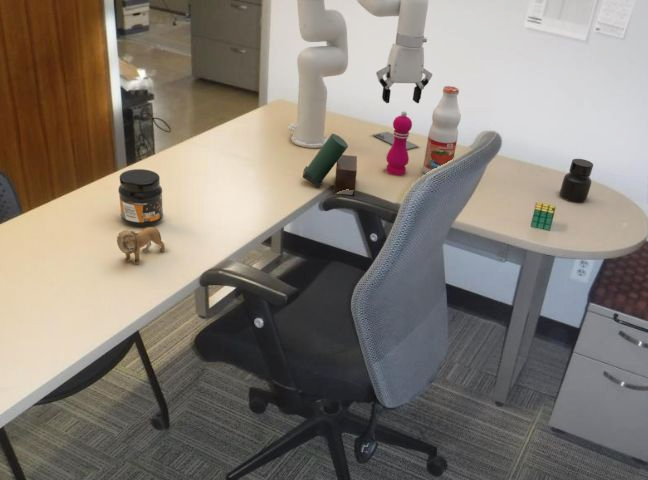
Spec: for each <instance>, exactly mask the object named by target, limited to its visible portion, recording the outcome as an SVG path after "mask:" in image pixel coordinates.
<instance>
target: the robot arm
mask: <svg viewBox="0 0 648 480" xmlns="http://www.w3.org/2000/svg"><path fill="white" fill-rule="evenodd" d="M356 2H357V3H358V4H359V5H360V6H361V7H362V8H363V9H364V10H365V11H366V12H368V13H369V14H370V15H372V16H374V17H378V18H385V17H386V18H387V17H398V21H397V28H396V36H395V43H392V44H391V48H390V50H389V53H388V58H387V64H386V66H385V67H383V68H381V69H379V70H377V71H376V73H375V75H376V77H377V81H378V82H379V84H380V85H381V86H382V95H381V98H382V101H383V102H384V103H385V104H389V103H390V98H391V89H390V88H391V87H392V86H393V85H394V84H415V86H414V88H413V95H412V101H413V102H415V103H416V104H420V100H421V98H422V91H423V90H424V88H425V87H426V86H427V85H428V84H429V81H430V80H431V79H432V77H433V73H432V72H430V71H429V70H427V69H426V68H424V66H425V50H424V46H423V45H424V43H427V41H428V38H427V37H425V29H426V28H425V27H426V21H427V14H428V8H429V7H428V6H429V0H356ZM296 3H297V14H298V27H299V33H300V36H301V38H302V40H303V41H305V42H307V43H321V42H323V43H324V42H325V43H326V45H319V46H318V45H317V46H316V45H315V46H309V47H306V48H305V47H304V49H302V50H301V51H300V52H299V54H298V55H297V63H296V64H297V72H298V94H297V95H298V97H297V114H296V115H297V116H296V123H293V122H291V123H289V126H288V128H287V130H288V131H290V132H293V135H291V138H290V139H291V142H292V143H293V144H294V145H296V146H299V147H301V148H308V149H321V148H322V147H323V145H324V144H325V143H326V141H327V140H328V138H327V137H326V136H325V129H326V128H325V126H326V116H327V115H326V113H327V103H328V102H327V101H328V88H327V85H326V84H325V82H324V78H328V77H336V76H340V75H343V74H344V73H345V72H346V71H347V69H348V66H349V43H348V29H347V23H346V20H345V17H344V15H343V14H342V13H341V11H338V10H337V9H326V7H325V6H326V5H325V0H297V2H296ZM423 75H424V78H423ZM384 76H385V79H384Z"/></svg>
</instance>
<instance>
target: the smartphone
mask: <svg viewBox="0 0 648 480" xmlns="http://www.w3.org/2000/svg"><path fill="white" fill-rule="evenodd" d="M372 136H373V137H375V138H377V139H379V140H381V141H383V142H385V143H387V144H389V145H392V146H393V143H394V135H393V133H391V132H389V131H385V132H381V133H375V134H373V135H372ZM416 148H419V145H417V144H414V143H412V142H410V141H408V140H406V149H407V150H411V149H416Z"/></svg>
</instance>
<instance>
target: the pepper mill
mask: <svg viewBox="0 0 648 480" xmlns="http://www.w3.org/2000/svg"><path fill="white" fill-rule="evenodd" d="M407 115H408V113H407V112H406V110H405V111H404V110H403V111H401V113H400V115H398V116H396V117H395V118H394V119H393V122H392V127H393V128H394V130H393V133H392V134H393V135H394V143H393V145H392V146H391V147H390V149H389V150H388V152H387V154H386V162H387V164H386V168H385V170H386V173H388V174H390V175H393V176H404V175H405V174H406V170H407V167H406V166H407V165H408V164H409V161H410V157H409V152H408V149H406V141H408V138H409V137H410V136H409V135H410V131H411V130H412V127H413V122H412V120H411V118H410V117H408V116H407Z"/></svg>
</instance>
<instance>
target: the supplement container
mask: <svg viewBox="0 0 648 480" xmlns="http://www.w3.org/2000/svg"><path fill="white" fill-rule="evenodd" d="M119 184H120V185H119V186H118V189H117V190H118V194H119V195H118V196H119V209H120V218H121V221H122V222H123V223H125V224H126V225H128V226H131V227H134V228H147V227H154V226H156V225H158V224H160V223H161V222H162V220H164V219H163V218H164V211H163V210H164V209H163V187H162V186H161V179H160V175H159V174H158V173H157V172H155V171H153V170H150V169H144V168H143V169H142V168H138V169H137V168H136V169H129V170H126V171H123V172H122V173H121V174H120V175H119Z"/></svg>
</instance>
